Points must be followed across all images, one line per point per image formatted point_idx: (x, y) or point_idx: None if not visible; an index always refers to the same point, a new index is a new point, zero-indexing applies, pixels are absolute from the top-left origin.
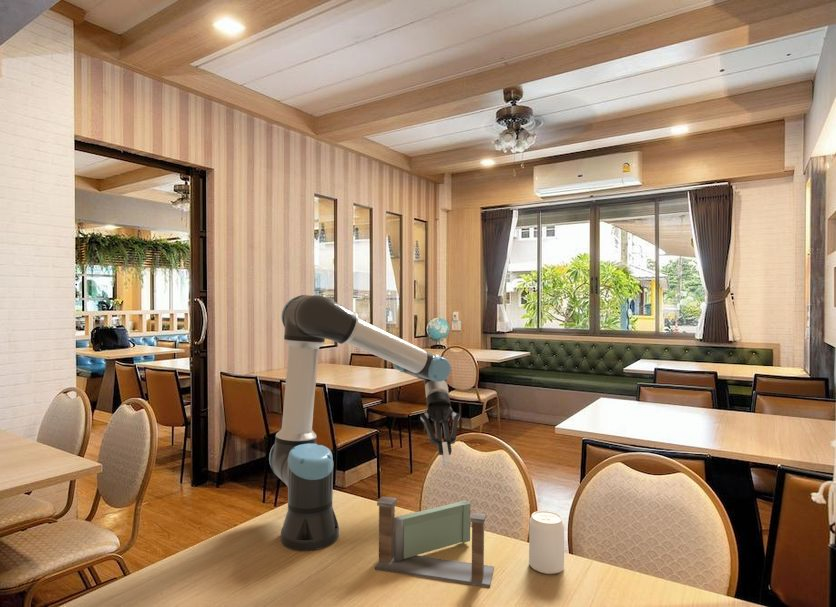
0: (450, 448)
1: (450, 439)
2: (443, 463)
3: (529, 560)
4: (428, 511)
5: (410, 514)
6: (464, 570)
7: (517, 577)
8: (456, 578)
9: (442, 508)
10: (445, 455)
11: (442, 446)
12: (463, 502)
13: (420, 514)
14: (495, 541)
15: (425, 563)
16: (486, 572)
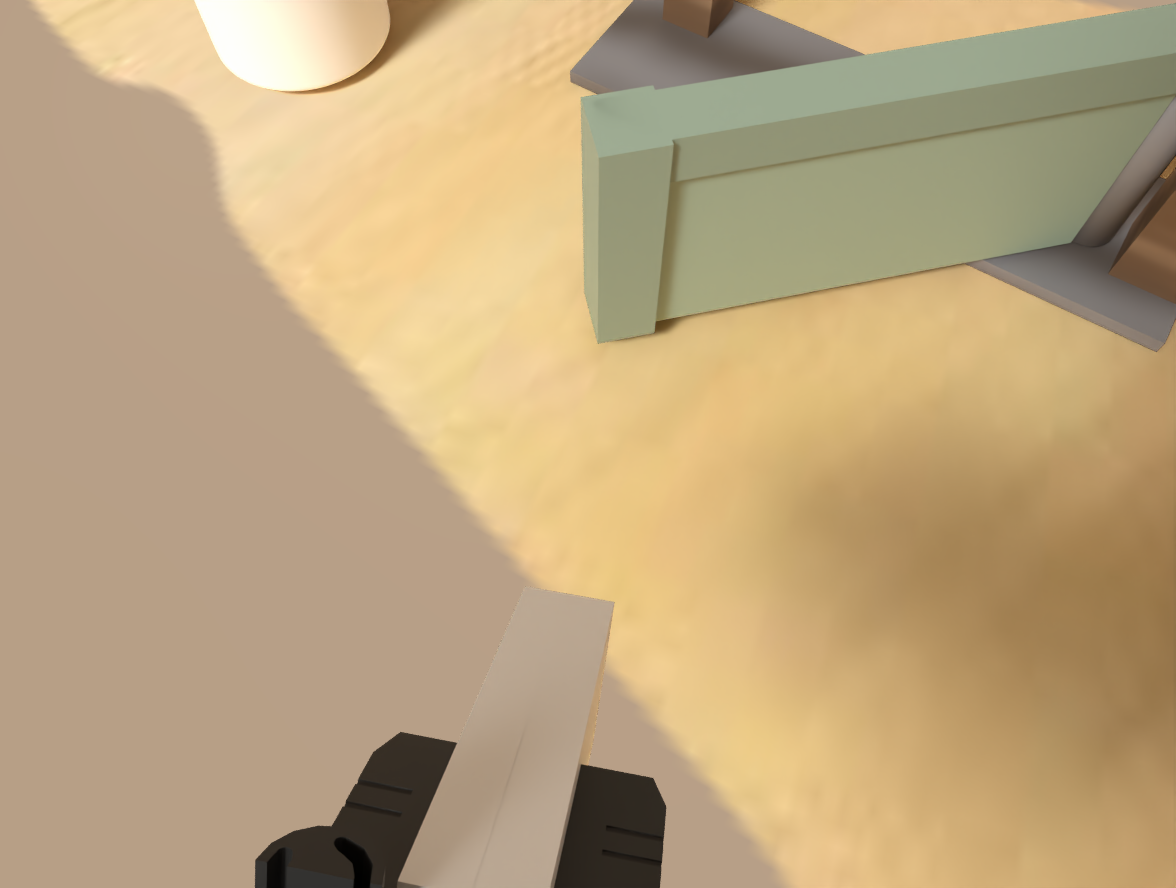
0: (369, 795)
1: (278, 843)
2: (590, 745)
3: (379, 30)
4: (982, 56)
5: (1139, 44)
6: (735, 74)
7: (497, 9)
8: (797, 35)
9: (852, 74)
10: (566, 665)
11: (559, 851)
12: (632, 124)
13: (1056, 30)
14: (404, 304)
15: None
16: (632, 40)
